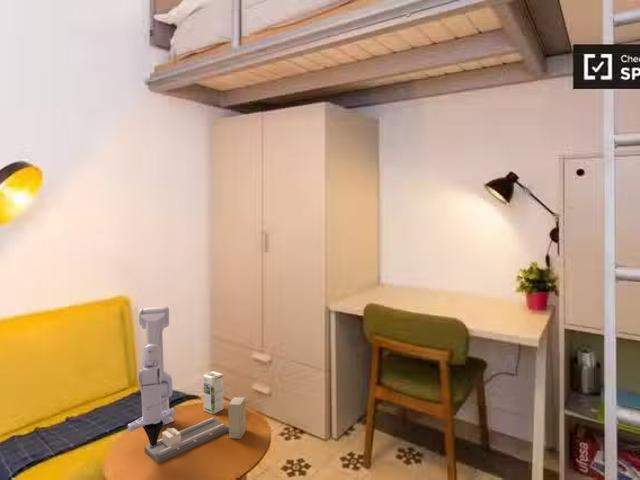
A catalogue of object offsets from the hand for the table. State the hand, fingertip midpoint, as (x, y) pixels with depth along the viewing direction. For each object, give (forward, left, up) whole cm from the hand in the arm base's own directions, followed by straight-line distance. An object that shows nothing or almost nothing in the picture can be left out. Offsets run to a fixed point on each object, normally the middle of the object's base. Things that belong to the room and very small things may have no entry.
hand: (153, 444), depth 133 cm
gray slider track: (0, +12, -4) cm, 13 cm away
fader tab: (0, +6, -2) cm, 6 cm away
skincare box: (+9, +26, -4) cm, 28 cm away
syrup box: (-13, +30, -4) cm, 33 cm away
